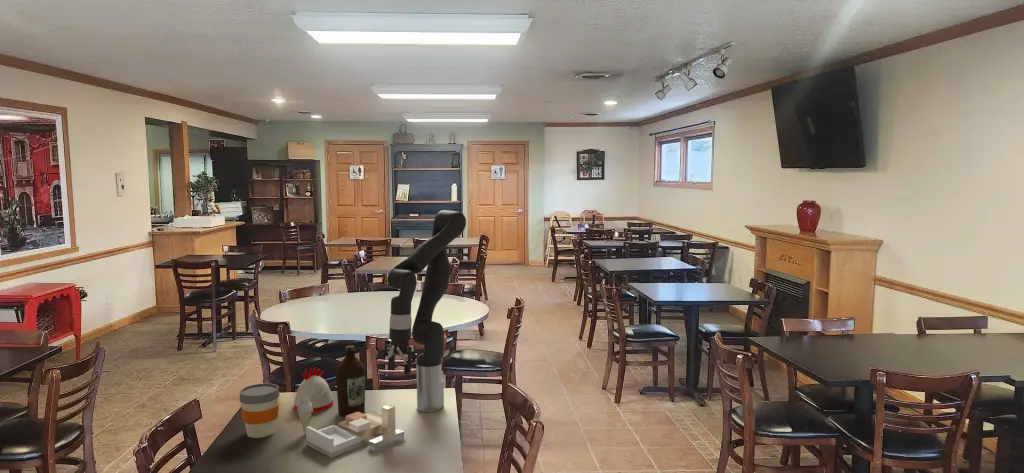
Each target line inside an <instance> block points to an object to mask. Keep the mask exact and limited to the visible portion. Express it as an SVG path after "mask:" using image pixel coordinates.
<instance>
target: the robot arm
mask: <svg viewBox="0 0 1024 473" xmlns="http://www.w3.org/2000/svg"><path fill="white" fill-rule="evenodd" d="M466 226H467V219H466V216H465V214H464V213H462V212H460V211H457V210H456V211H455V210H448V209H447V210H444V209H443V210H440V211H438V212H437V213H436V214H435V216H434V219H433V224H432V232H431V233H432V234H431V238H429V239H427V240H425V241H423V242H422V243H420V244H419V245H418V246H417V247H416V248H415V249H414V250H413V251H412V252H411V253H410V254H409V255H408V257H407V258H406V259H404V260H403V261H401V262H400V263H398V264H396V265H395V266H394V267H393V268H392V269H391V270H390V271H389V273H388V274H387V277H386V282H387V285H388V286H389V287H390V288H392V289H395V290H399V293H398V295H395V296H393V297H392V298H391V300H390V318H389V333H388V334H389V335H388V339H385V341H384V350H383V352H384V353H383V355H384V357H387V359H388V361H387V362H388V363H387V366H388V370H391V371H392V370H394V369H395V368H396V367H395V366H396V364H395V363H396V359H395V357H396V356H400V358H401V359H402V360H403V362H404V366H403V374H404V375H405V376H407V375H410V374H411V371H412V364H414V363H416V409H417V410H418V411H419V412H424V413H433V412H437V411H439V410H441V409H442V408H443V407H444V406H445V404H444V403H445V398H444V396H445V395H444V393H445V392H444V389H445V386H444V381H443V378H442V377H443V376H442V359H443V356H444V349H445V348H444V345H445V344H444V343H445V329H444V327H443V325H442V324H441V323H439V322H437V321H433V314H434V312H435V309H436V307H437V305H438V303H439V302H440V300H441V299H442V298H443V296H444V295H445V294H446V292H447V290H448V288H449V285H450V278H451V275H452V272H451V271H452V267H451V264H450V260H449V257H448V252H447V246H448V245H449V244H450V243H451V242H453V241H454V240H456V239H457V238H458V237H459V236H460V235H461V234H462V233H463V232H464V230H466ZM425 268H426V272H425V276H424V282H423V287H422V293H421V296H420V299H419V300H420V301H419V304H418V309H417V310H416V314H415V318H414V322H413V324H412V301H413V297H414V295H415V290H416V287H417V284H418V283H417V282H418V281H417V276H416V274H420V273H421V272H423V271H424V270H425ZM411 339H412V341H414V343H416V344H417V345H418V344H419V345H422V346H424V347H423V348H424V351H423V353H420V354H418V355H417V356H416V345H413V344H412V345H410V341H411Z"/></svg>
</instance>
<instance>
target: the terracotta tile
mask: <svg viewBox="0 0 1024 473" xmlns="http://www.w3.org/2000/svg"><path fill="white" fill-rule="evenodd" d="M360 418H363V419H365V420H367V415H365V413H360V412H355V413H352V414H349V415H346V417H345V420H346V422H348V423H349V422H351V421H354V420H357V419H360Z"/></svg>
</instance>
